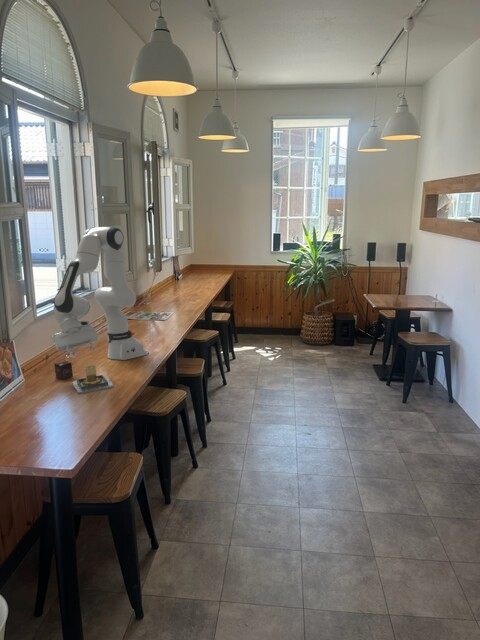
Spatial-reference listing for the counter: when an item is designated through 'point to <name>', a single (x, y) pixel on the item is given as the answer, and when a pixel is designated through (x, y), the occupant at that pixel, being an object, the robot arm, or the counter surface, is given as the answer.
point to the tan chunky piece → (91, 376)
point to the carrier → (84, 389)
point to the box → (63, 369)
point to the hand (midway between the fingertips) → (82, 351)
